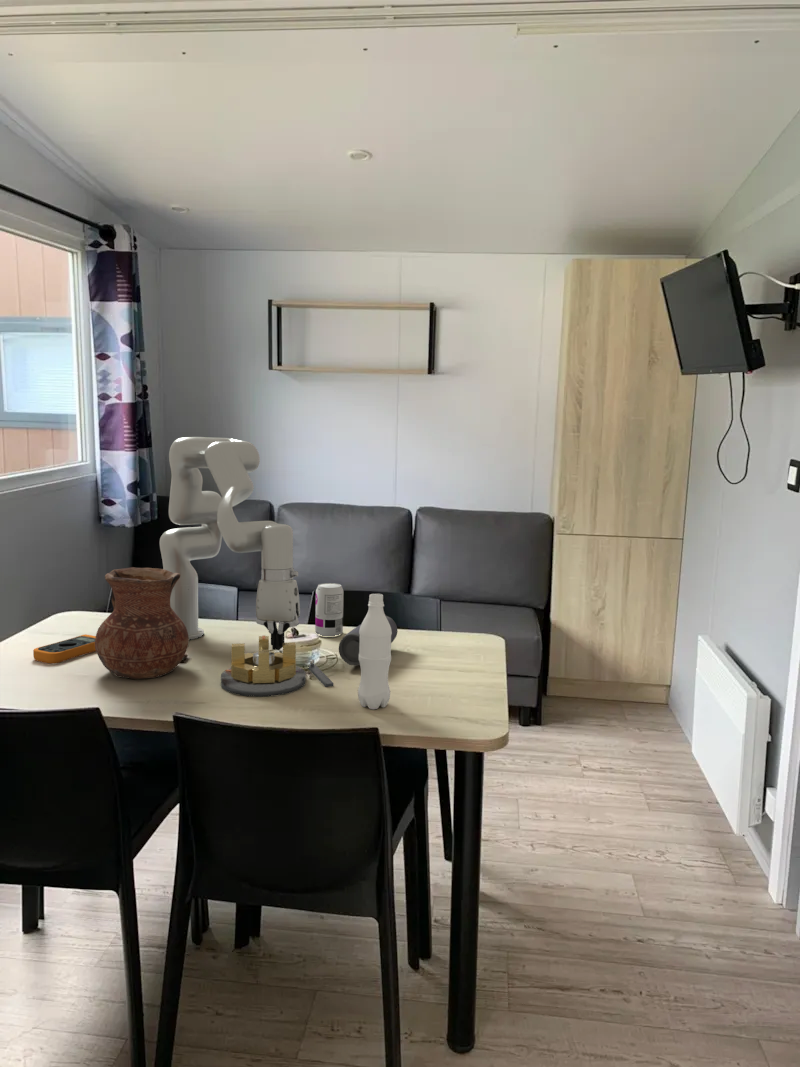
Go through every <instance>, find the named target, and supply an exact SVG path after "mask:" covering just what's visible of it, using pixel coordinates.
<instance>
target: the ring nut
mask: <svg viewBox="0 0 800 1067" xmlns="http://www.w3.org/2000/svg"><path fill="white" fill-rule="evenodd" d="M269 642H270V636H269V635H267V636H266V635H261V636H259V635H258V652H259V659H258V667H255V666H253V654H254V653H256V652H257V651H253V653H251V652H247V653H245V652H246V650H245V648H246V647H245V646H246V644H245V643H231V649H230V650H231V652H230V653H231V662H230V663H231V664H230V666H231V667H230V668H231V677H233V679H237V680H240V681H244V682H247V683H249V682H252V681H253V683H275V681H278V682H280V681H283V680H286V679H289V678H291V677H294V675H296V666H297V661H296V660H297V659H296V658H297V656H296V654H297V652H296V650H297V647H296V646H297V645H296V644H297V643H296V642H284V643H283V647H282V652H280V651H277V652H275V651H272V652H273V653H274V666H269V652H270V648H269V647H270V643H269Z"/></svg>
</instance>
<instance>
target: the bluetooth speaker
mask: <svg viewBox="0 0 800 1067" xmlns="http://www.w3.org/2000/svg"><path fill="white" fill-rule="evenodd" d="M385 616H386V618H387V620H388V622H389V624H390V626H391V630H392V634H391V644H392V643H393V642H394V640H395V639H396V638H397V636H398V627H397V624H396V622H395V621H394V620H393V618H392V617H390V616H388V615H385ZM360 626H361V624H359V625H357V626H356V627H354V628H353V629H352V630H350V631H349V632H348V633H346V634H345V635H344V636H343V638H341V640H340V642H339V645H338V654H339V656H340V658H341V660H342V661H343V662H345V663H346V664H347V665H350V666H360V662H359V642H360V634H359V630H360Z"/></svg>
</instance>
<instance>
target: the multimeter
mask: <svg viewBox="0 0 800 1067" xmlns="http://www.w3.org/2000/svg"><path fill="white" fill-rule="evenodd" d="M95 638H96V635H91V634H82V635H79V636H75V637H71V638H68V639H65V640H61V641H57V642H54V643H50V644H45V645H43V646H38V647H36V648H34V649H33V659H34V661H36V662H39V663H44V664H49V665H50V664H51V665H53V664H60V663H62V662H63V663H64V662H66V661H70V660H72V659H75V658H78V657H81V656H82V657H83V656H84V655H87V654H91V653H94V652H96V649H95Z"/></svg>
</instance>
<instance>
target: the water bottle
mask: <svg viewBox="0 0 800 1067" xmlns="http://www.w3.org/2000/svg"><path fill="white" fill-rule="evenodd" d="M368 597H369V598H368V604H367V606H368V610H367V613H366V615H365V616H364V618H363V620H362V622H361V624H360V625H361V626H360V630H359V634H360V642H359V662H360V665H359V666H360V681H359V686H358V689H357V697H358V702H359V704H360V705H361V707H363V708H366V707H368V708H369V709H370V710H377V709H379V707H381V708H386V707H387V705H389V704H388V703H389V701H390V699H391V688H390V684H389V671H390V670H389V669H390V664H391V661H392V654H391V648H392V643H391V634H392V630H391V626H390V624H389V622H388V620H387V618H386V616H387V615H386V614H385V611H384V607H385V604H384V595H383V594H382V593H371V594H369V596H368Z"/></svg>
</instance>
